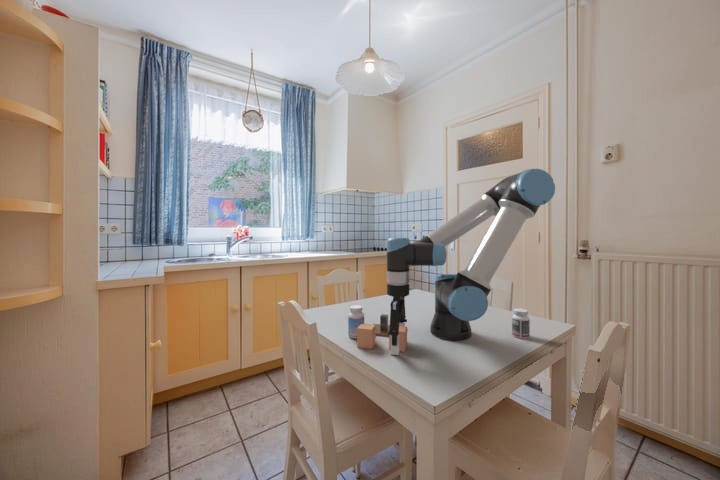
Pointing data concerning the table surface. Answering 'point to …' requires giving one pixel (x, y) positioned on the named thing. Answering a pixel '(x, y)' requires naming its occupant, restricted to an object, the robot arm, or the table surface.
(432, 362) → the table surface
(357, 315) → the pill bottle
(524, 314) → the pill bottle
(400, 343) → the salmon pink cube
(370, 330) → the peach cardboard cube
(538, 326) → the table surface
